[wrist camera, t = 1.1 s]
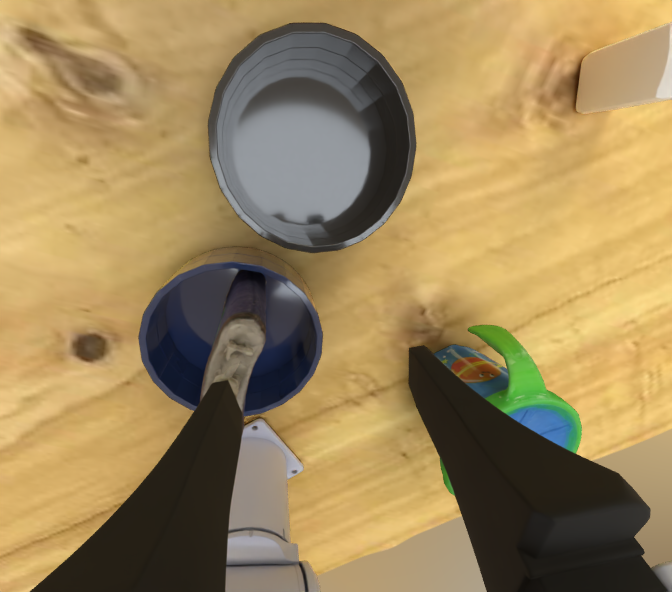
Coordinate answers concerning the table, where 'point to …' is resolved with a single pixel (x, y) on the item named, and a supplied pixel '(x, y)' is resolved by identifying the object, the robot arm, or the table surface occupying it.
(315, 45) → the charcoal bowl
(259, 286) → the flask
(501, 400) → the snack cup
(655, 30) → the pepper shaker
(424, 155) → the table surface
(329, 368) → the table surface
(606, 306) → the table surface
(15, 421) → the table surface
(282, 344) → the indigo bowl
